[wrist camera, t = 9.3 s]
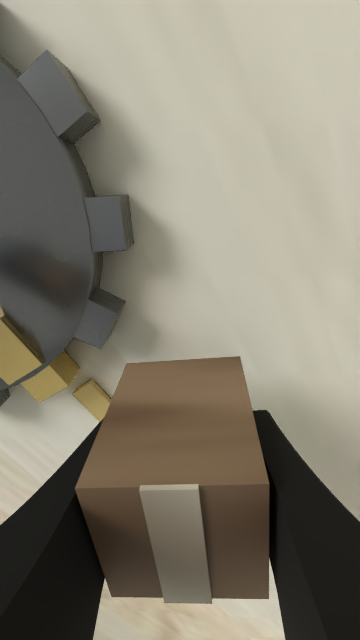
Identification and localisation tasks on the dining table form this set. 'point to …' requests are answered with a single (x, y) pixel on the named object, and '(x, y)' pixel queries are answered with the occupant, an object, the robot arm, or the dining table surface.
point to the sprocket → (50, 230)
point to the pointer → (93, 399)
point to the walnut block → (179, 485)
